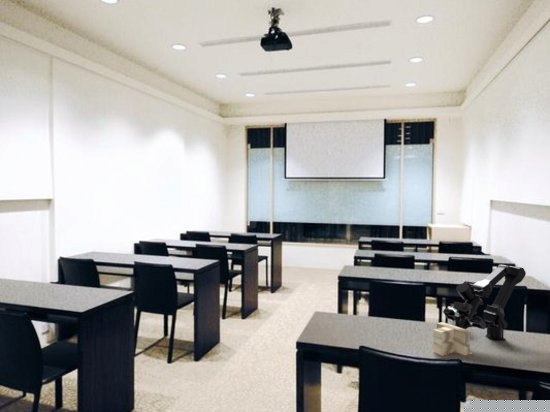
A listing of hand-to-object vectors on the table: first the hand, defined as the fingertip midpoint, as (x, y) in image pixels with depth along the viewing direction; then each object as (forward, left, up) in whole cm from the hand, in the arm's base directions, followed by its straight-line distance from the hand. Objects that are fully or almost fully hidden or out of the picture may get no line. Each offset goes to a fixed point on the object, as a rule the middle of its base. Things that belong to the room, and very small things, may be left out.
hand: (455, 333), depth 178 cm
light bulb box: (-15, -24, -7) cm, 29 cm away
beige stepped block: (+6, +3, -7) cm, 10 cm away
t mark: (+6, +3, -7) cm, 9 cm away
